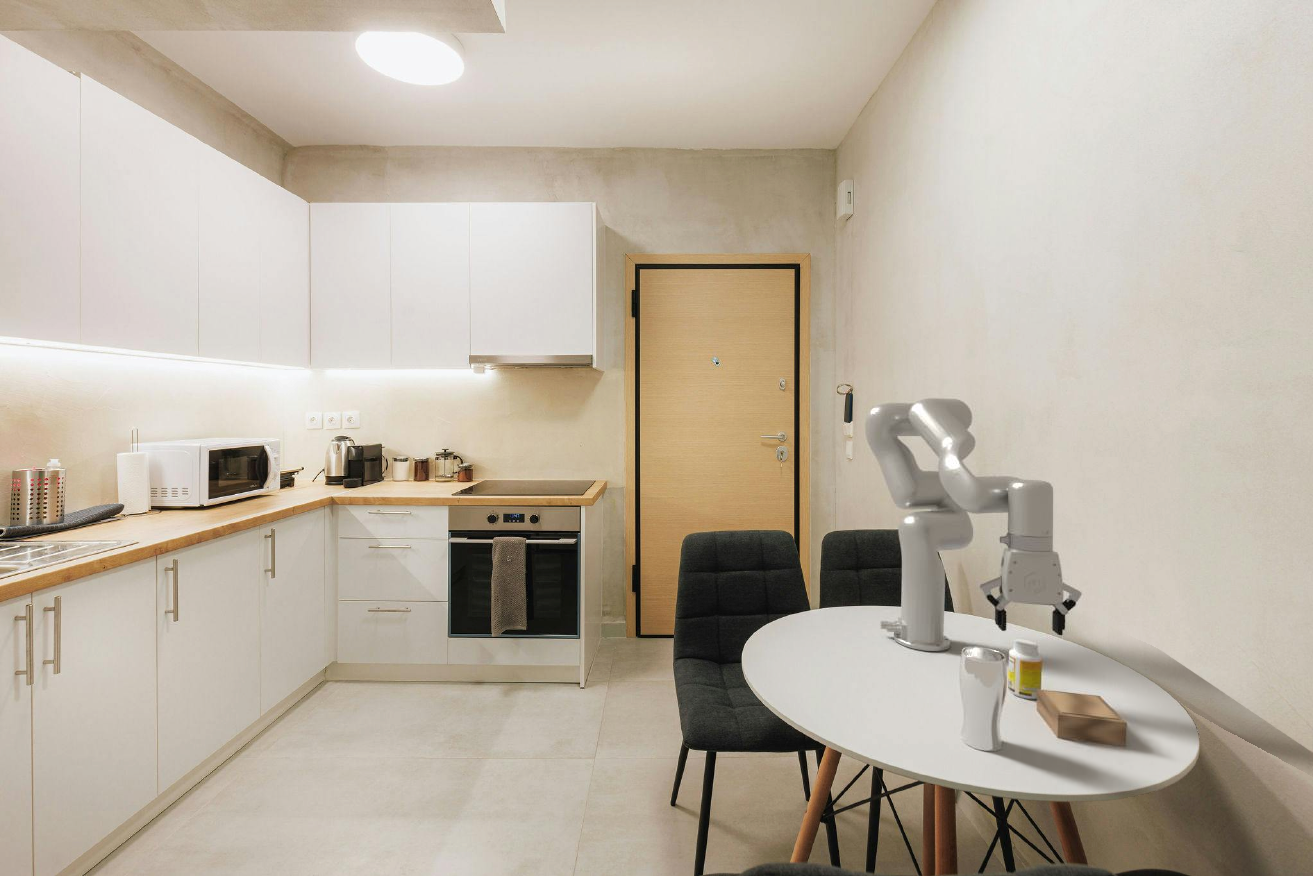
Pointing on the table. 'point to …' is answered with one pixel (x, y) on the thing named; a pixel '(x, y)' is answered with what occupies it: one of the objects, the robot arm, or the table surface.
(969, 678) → the beer glass
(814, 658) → the table surface
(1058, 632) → the robot arm
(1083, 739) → the base
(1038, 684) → the supplement bottle
